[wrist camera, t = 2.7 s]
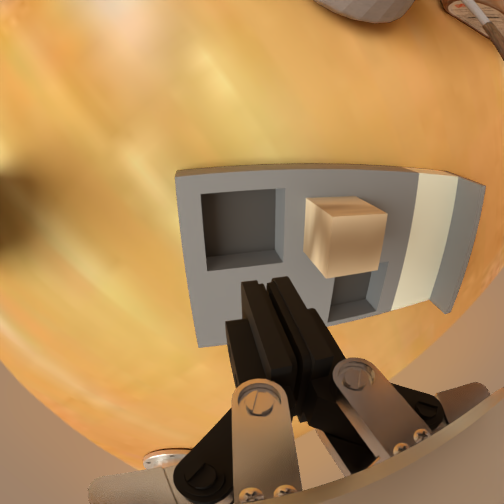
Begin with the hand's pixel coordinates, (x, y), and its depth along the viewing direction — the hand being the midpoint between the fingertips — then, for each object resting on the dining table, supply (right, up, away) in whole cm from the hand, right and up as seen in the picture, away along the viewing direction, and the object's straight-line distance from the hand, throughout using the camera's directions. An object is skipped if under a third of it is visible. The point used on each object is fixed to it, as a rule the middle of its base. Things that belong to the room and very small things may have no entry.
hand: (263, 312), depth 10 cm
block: (+5, +4, +10) cm, 12 cm away
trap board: (+7, +3, +14) cm, 16 cm away
